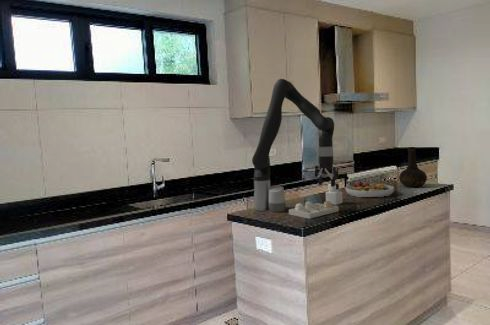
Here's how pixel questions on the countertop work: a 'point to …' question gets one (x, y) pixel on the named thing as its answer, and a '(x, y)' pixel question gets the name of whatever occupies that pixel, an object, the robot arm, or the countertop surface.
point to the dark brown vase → (412, 172)
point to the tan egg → (327, 204)
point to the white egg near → (299, 207)
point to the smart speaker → (277, 199)
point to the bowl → (369, 190)
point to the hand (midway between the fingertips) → (326, 185)
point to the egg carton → (314, 211)
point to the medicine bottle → (334, 194)
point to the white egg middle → (308, 205)
